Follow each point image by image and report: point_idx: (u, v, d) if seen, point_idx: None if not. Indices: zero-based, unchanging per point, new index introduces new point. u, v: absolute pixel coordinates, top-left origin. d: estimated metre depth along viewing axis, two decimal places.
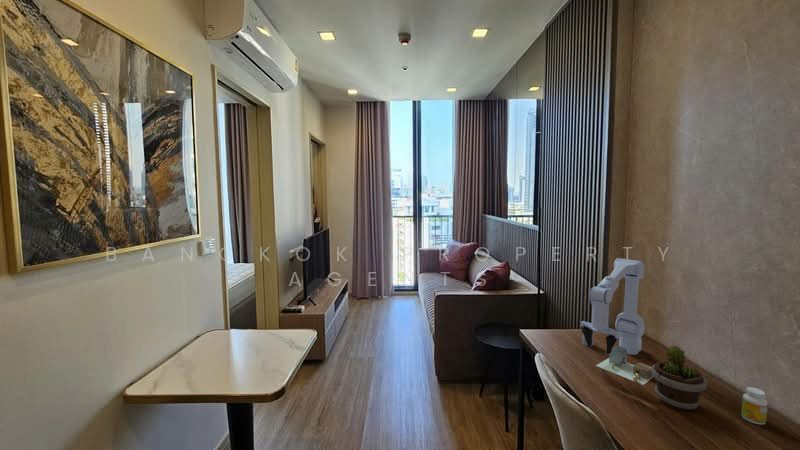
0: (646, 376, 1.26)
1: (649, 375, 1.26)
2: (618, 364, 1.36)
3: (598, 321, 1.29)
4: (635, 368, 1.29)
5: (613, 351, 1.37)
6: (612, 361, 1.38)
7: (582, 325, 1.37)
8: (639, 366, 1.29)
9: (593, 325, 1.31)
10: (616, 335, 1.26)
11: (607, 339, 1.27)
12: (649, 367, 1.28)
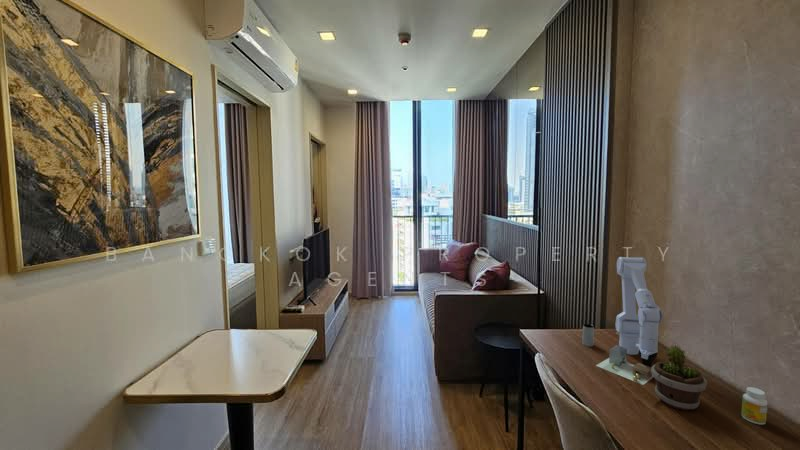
0: (645, 377, 1.26)
1: (648, 376, 1.26)
2: (618, 364, 1.36)
3: (639, 337, 1.31)
4: (634, 369, 1.29)
5: (613, 351, 1.37)
6: (612, 361, 1.38)
7: None
8: (638, 367, 1.29)
9: None
10: None
11: None
12: (648, 368, 1.28)
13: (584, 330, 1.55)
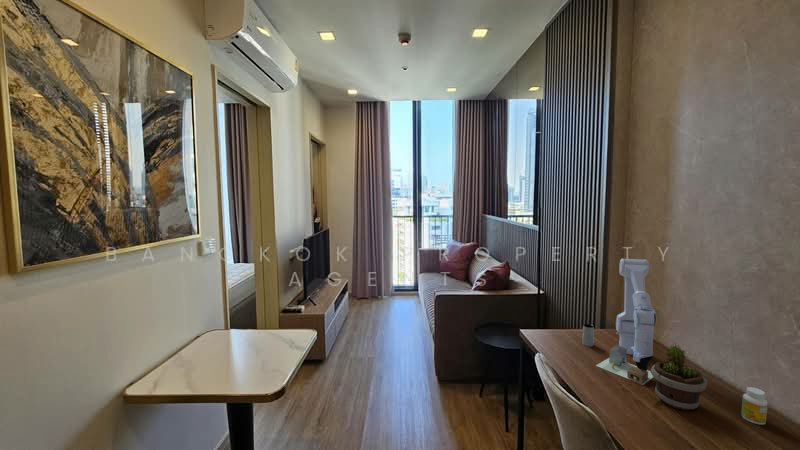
0: (640, 380, 1.23)
1: (643, 379, 1.24)
2: (618, 364, 1.36)
3: (634, 340, 1.29)
4: (629, 372, 1.26)
5: (613, 351, 1.37)
6: (612, 361, 1.38)
7: None
8: (633, 370, 1.27)
9: None
10: None
11: None
12: (643, 371, 1.26)
13: (584, 330, 1.55)
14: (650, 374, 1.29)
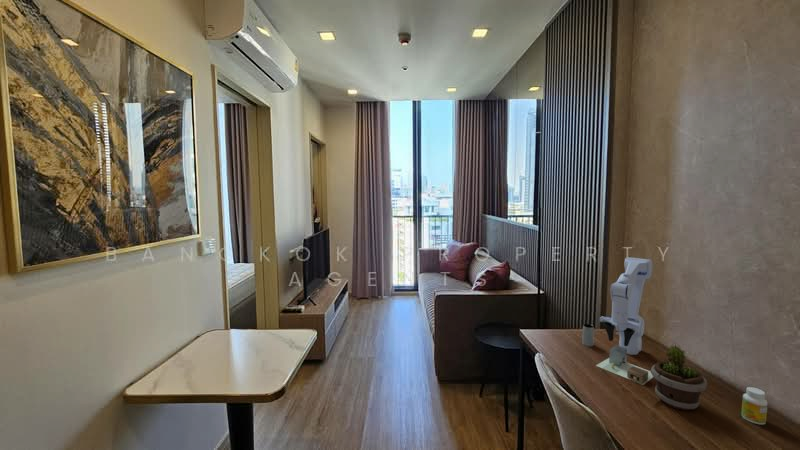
0: (640, 380, 1.23)
1: (643, 379, 1.24)
2: (618, 364, 1.36)
3: (618, 315, 1.35)
4: (629, 372, 1.26)
5: (613, 351, 1.37)
6: (612, 361, 1.38)
7: (602, 320, 1.42)
8: (633, 370, 1.27)
9: (613, 320, 1.37)
10: (636, 329, 1.31)
11: (625, 332, 1.33)
12: (643, 371, 1.26)
13: (584, 330, 1.55)
14: (650, 374, 1.29)
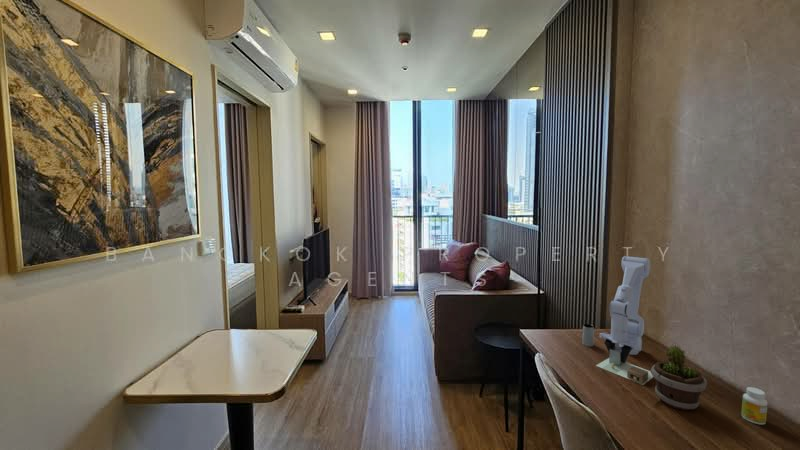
0: (640, 380, 1.23)
1: (643, 379, 1.24)
2: (618, 364, 1.36)
3: (618, 333, 1.35)
4: (629, 372, 1.26)
5: (613, 351, 1.37)
6: (612, 361, 1.38)
7: (601, 336, 1.43)
8: (633, 370, 1.27)
9: (613, 337, 1.37)
10: (635, 347, 1.32)
11: (622, 349, 1.34)
12: (643, 371, 1.26)
13: (584, 330, 1.55)
14: (650, 374, 1.29)
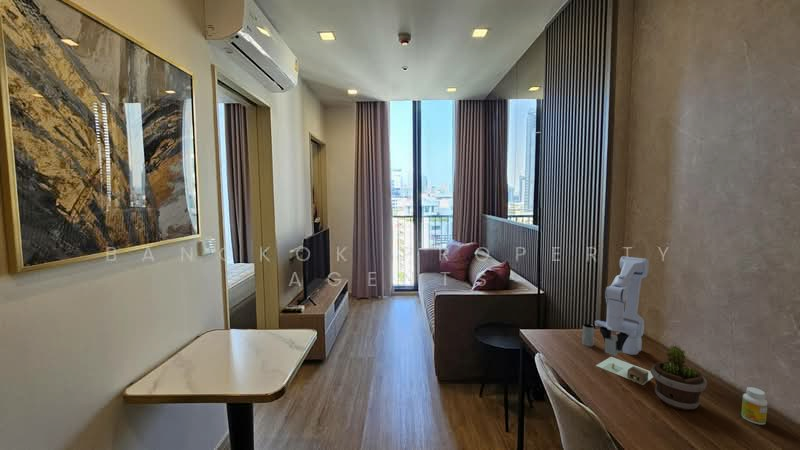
0: (640, 380, 1.23)
1: (643, 379, 1.24)
2: (614, 354, 1.31)
3: (614, 320, 1.30)
4: (629, 372, 1.26)
5: (609, 340, 1.32)
6: (608, 350, 1.33)
7: (596, 324, 1.38)
8: (633, 370, 1.27)
9: (608, 324, 1.32)
10: (632, 334, 1.27)
11: (618, 336, 1.29)
12: (643, 371, 1.26)
13: (584, 330, 1.55)
14: (650, 374, 1.29)
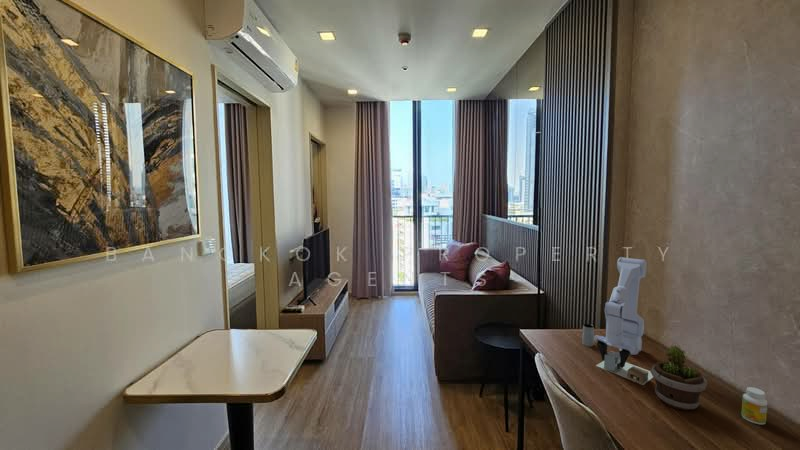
0: (640, 380, 1.23)
1: (643, 379, 1.24)
2: (613, 370, 1.32)
3: (613, 335, 1.31)
4: (629, 372, 1.26)
5: (608, 357, 1.33)
6: (607, 367, 1.33)
7: (596, 339, 1.38)
8: (633, 370, 1.27)
9: (608, 339, 1.33)
10: (631, 350, 1.27)
11: (621, 353, 1.29)
12: (643, 371, 1.26)
13: (584, 330, 1.55)
14: (650, 374, 1.29)
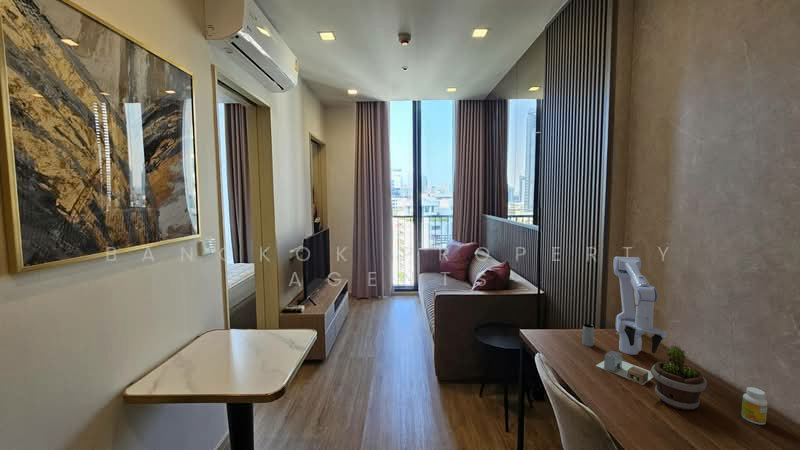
0: (640, 380, 1.23)
1: (643, 379, 1.24)
2: (613, 370, 1.32)
3: (643, 320, 1.29)
4: (629, 372, 1.26)
5: (608, 357, 1.33)
6: (607, 367, 1.33)
7: (624, 325, 1.36)
8: (633, 370, 1.27)
9: (637, 325, 1.31)
10: (663, 335, 1.25)
11: (653, 339, 1.27)
12: (643, 371, 1.26)
13: (584, 330, 1.55)
14: (650, 374, 1.29)
